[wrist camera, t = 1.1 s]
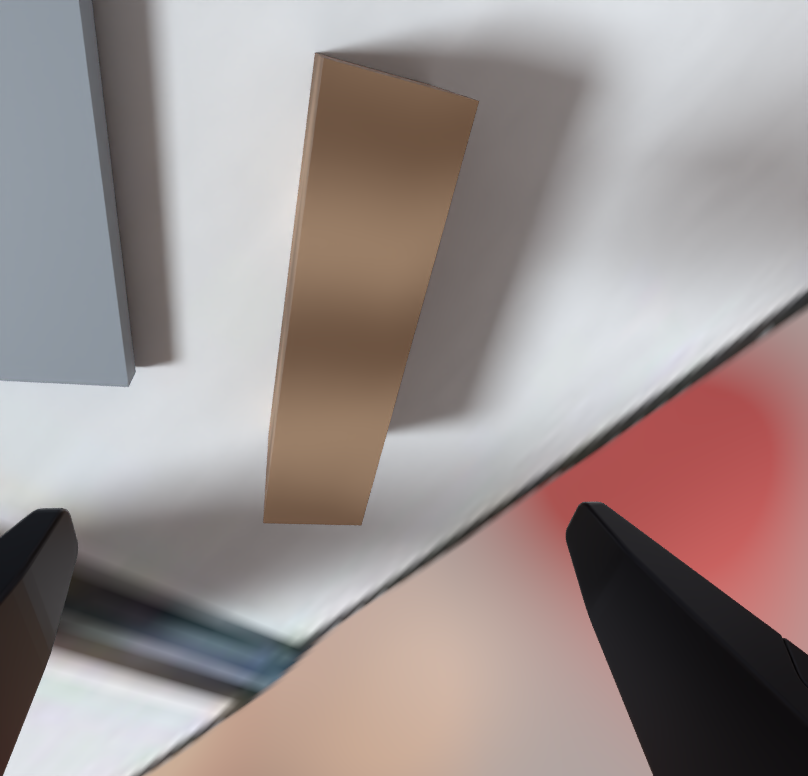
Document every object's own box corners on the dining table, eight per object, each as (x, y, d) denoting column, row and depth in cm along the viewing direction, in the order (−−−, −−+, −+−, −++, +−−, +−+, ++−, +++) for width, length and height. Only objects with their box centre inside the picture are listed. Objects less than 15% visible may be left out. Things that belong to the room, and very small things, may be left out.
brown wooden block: (348, 438, 23) (361, 525, 19) (268, 432, 22) (263, 523, 18) (430, 84, 15) (478, 101, 11) (315, 52, 14) (323, 58, 10)
